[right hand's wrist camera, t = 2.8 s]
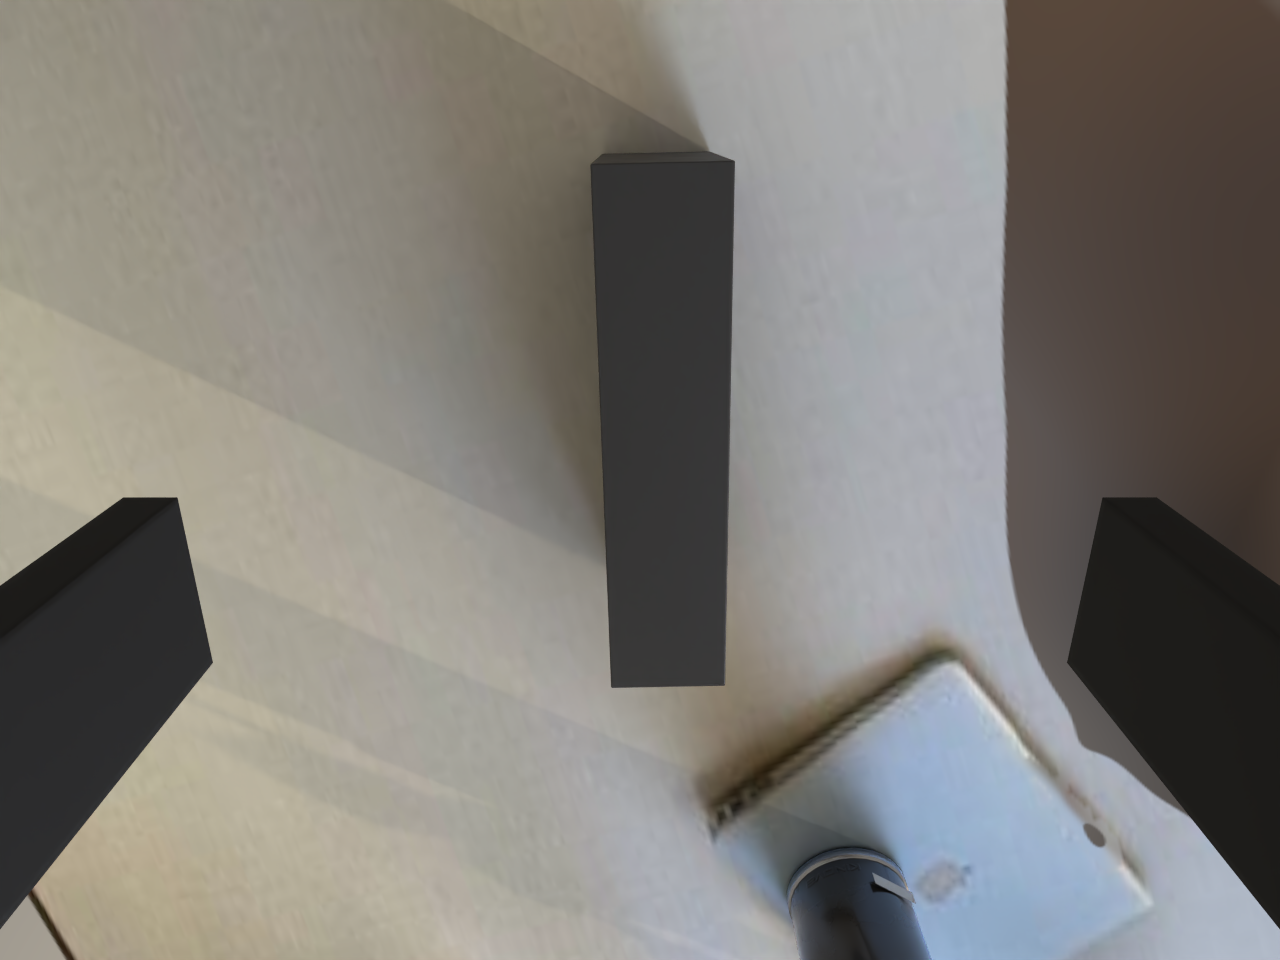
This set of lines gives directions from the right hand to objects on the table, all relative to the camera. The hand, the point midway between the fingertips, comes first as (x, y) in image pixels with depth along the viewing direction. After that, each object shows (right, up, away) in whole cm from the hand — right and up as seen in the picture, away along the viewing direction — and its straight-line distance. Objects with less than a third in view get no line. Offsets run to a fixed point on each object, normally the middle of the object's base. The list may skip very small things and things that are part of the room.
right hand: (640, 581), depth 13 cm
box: (+1, +7, +41) cm, 42 cm away
